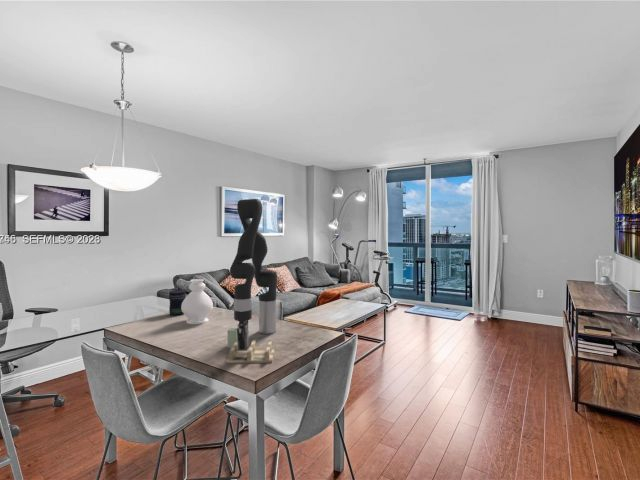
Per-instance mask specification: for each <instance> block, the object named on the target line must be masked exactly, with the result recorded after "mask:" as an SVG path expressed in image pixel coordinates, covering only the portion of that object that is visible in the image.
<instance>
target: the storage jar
mask: <svg viewBox="0 0 640 480" xmlns="http://www.w3.org/2000/svg"><path fill="white" fill-rule="evenodd" d="M168 294H169V296H168V298H169V299H168V300H169V307H168V308H169V309H168V311H169V316H170V317H181V316H185V314H184V313H183V312H182V309H181V305H182V302H183V301H184V299H185V298H186V297H187V296H186V290H185V289H173V290H170V291H169V293H168Z"/></svg>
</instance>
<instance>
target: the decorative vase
mask: <svg viewBox="0 0 640 480" xmlns="http://www.w3.org/2000/svg"><path fill="white" fill-rule="evenodd" d="M204 281H205V279H204V278H192V279H190V282H191V283H189V286H188V289H189V290H190V291H191V292H189V293H188V294H187V296H185V299H184V301H183V302H182V305H181V309H182V312H183V313H184V316H185V317H186V318H187V320H186V321H185V322H186V324H189V325H201V324H205V323H208V322H209V318H208V315H210V313H211V311H212V310H213V308H214V303H213V300H212V298H211V297H210V296H209V295H208V294H207V293H206V292H205V291H204V290H205V289H206V284H205V283H204Z"/></svg>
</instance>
